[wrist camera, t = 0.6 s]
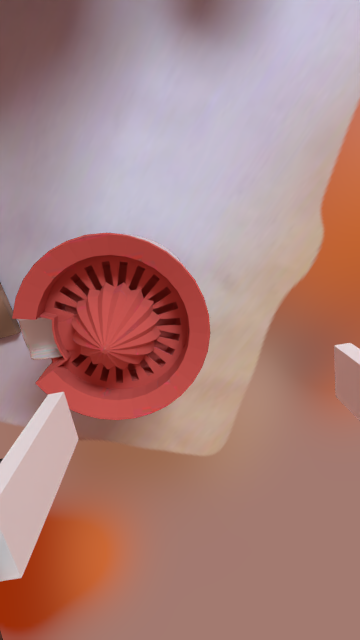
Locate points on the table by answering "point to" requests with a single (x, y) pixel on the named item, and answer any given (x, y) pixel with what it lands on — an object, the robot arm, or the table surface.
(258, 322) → the table surface
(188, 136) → the table surface
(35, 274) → the citrus juicer
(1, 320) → the can holder
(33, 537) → the robot arm
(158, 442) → the table surface
